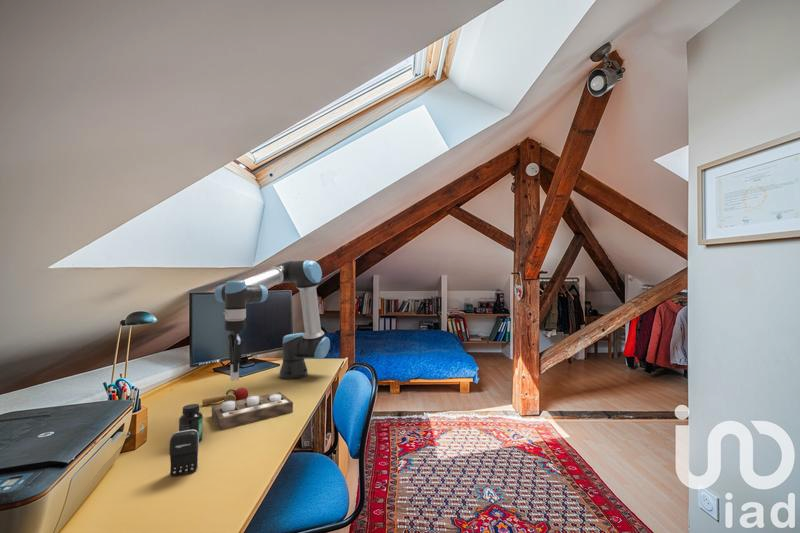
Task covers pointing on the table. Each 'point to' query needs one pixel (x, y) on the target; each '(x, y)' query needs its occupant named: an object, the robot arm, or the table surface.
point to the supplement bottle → (191, 419)
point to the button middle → (252, 401)
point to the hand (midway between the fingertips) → (234, 380)
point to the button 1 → (228, 406)
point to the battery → (184, 452)
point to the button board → (251, 411)
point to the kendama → (228, 396)
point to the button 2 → (275, 397)
